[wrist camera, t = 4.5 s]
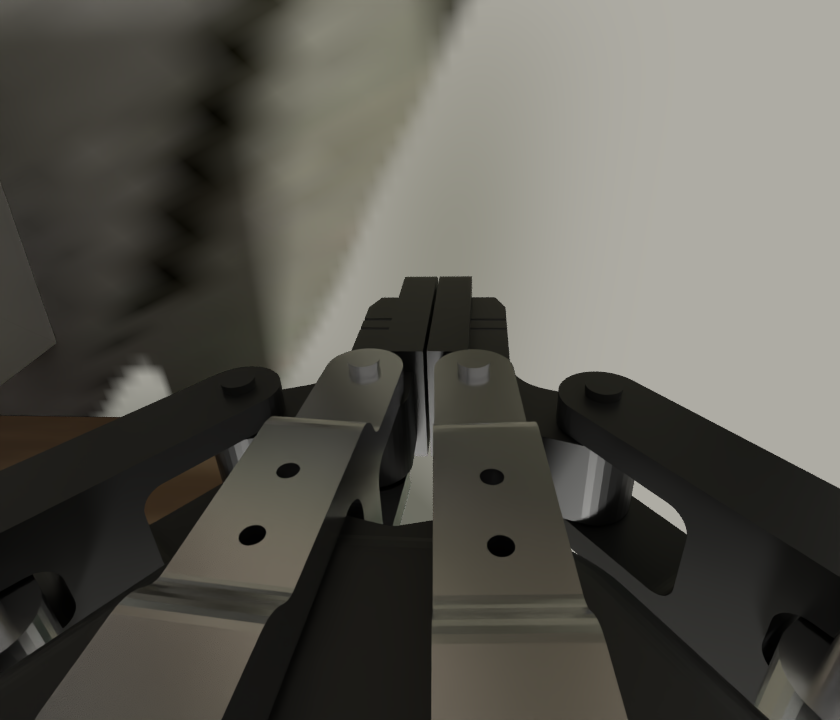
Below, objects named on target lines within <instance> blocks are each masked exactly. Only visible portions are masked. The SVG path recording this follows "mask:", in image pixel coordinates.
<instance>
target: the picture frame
mask: <svg viewBox="0 0 840 720" xmlns="http://www.w3.org/2000/svg"><path fill="white" fill-rule="evenodd" d="M55 344H56V339H55V337H54V334H53V331H52V328H51V325H50V322H49V319H48V317H47V314H46V311H45V308H44V305H43V302H42V299H41V296H40V294H39V291H38V288H37V285H36V282H35V279H34V276H33V274H32V271H31V268H30V265H29V262H28V259H27V256H26V254H25V251H24V248H23V245H22V242H21V239H20V236H19V234H18V231H17V228H16V225H15V222H14V219H13V216H12V214H11V211H10V208H9V205H8V202H7V199H6V196H5V194H4V191H3V188H2V185H1V182H0V386H1V385H2V384H4V383H5V382H6V381H7V380H9V379H10V378H11V377H13V376H14V375H15V374H17V373H18V372H19V371H21V370H22V369H23V368H24V367H26V366H27V365H28V364H30V363H31V362H32V361H34V360H35V359H36V358H38V357H39V356H40V355H42V354H43V353H44V352H45V351H47V350H48V349H49V348H51V347H52V346H53V345H55Z"/></svg>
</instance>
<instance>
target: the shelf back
mask: <svg viewBox="0 0 840 720" xmlns="http://www.w3.org/2000/svg"><path fill="white" fill-rule="evenodd" d="M118 418H120V417H58V416H0V471H1V470H3V469H5V468H8V467H10V466H12V465H14V464H17V463H19V462H21V461H23V460H26V459H28V458H30V457H32V456H35V455H37V454H39V453H41V452H44V451H46V450H48V449H50V448H53V447H55V446H57V445H59V444H62V443H64V442H66V441H68V440H71V439H73V438H75V437H77V436H80V435H82V434H84V433H86V432H89V431H91V430H93V429H95V428H98V427H100V426H102V425H104V424H107V423H109V422H111V421H114V420H116V419H118ZM220 484H222V479H221V476H220V472H219V469H218V465H217V462H216V458H215V456H213V457H211V458H210V459H208V460H206V461H204V462H202V463H200V464H198V465H197V466H195V467H193V468H191V469H189V470H187V471H185V472H184V473H182V474H180V475H178V476H176V477H174V478H172V479H171V480H169V481H167V482H165V483H163V484H161V485H160V486H158V487H157V488H156V489H155V490H154V491H153V492H152V493H151V494H150V495H149V497H148V499H147V501H146V503H145V508H144V512H145V516H146V519H147V521H148V524H149V525H150V524H152V523H154V522H156V521H157V520H159V519H161V518H163V517H164V516H166V515H168V514H170V513H171V512H173V511H175V510H177V509H178V508H180V507H182V506H183V505H185V504H187V503H189V502H190V501H192V500H194V499H196V498H197V497H199V496H201V495H203V494H204V493H206V492H208V491H210V490H211V489H213V488H215V487H216V486H218V485H220ZM33 575H34V574H33Z"/></svg>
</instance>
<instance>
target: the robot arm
mask: <svg viewBox="0 0 840 720" xmlns="http://www.w3.org/2000/svg"><path fill="white" fill-rule="evenodd" d="M429 442H430V443H431V456H433V520H432V521H426V522H419V523H413V524H406V525H401V521H402V517H403V513H404V510H405V506H406V502H407V499H408V495H409V491H410V487H411V478H410V470H411V468H412V465H413V459H414V456H428V449H429ZM213 456H215V458H216V462H217V465H218V469H219V472H220V476H221V479H222V484H220V485H218V486H216V487H215V488H213V489H211V490H210V491H208V492H206V493H204V494H203V495H201V496H199V497H197V498H196V499H194V500H192V501H190V502H189V503H187V504H185V505H183V506H182V507H180V508H178V509H177V510H175V511H173V512H171V513H170V514H168V515H166V516H164V517H163V518H161V519H159V520H157V521H156V522H154V523H152V524H150V525H149V524H148V521H147V519H146V516H145V512H144V508H145V503H146V501H147V499H148V497H149V495H150V494H151V493H152V492H153V491H154V490H155V489H156V488H157V487H158V486H160V485H161V484H163V483H165V482H167V481H169V480H171V479H172V478H174V477H176V476H178V475H180V474H182V473H184V472H185V471H187V470H189V469H191V468H193V467H195V466H197V465H198V464H200V463H202V462H204V461H206V460H208V459H210V458H211V457H213ZM634 480H635V481H637V482H638V483H639V484H641V485H642V486H644V487H645V488H647V489H648V490H650V491H651V492H653V493H654V494H656V495H657V496H659V497H660V498H661V499H663V500H664V501H666V502H667V503H669V504H670V505H671V506H672V507H673V508H675V509H676V511H677V512H678V513H679V514H680V516H681V517H682V519H683V521H684V523H685V526H686V530H687V534H685V533H684V532H683V531H681V530H679V529H678V528H677V527H675V526H674V525H673V524H671V523H670V522H668V521H667V520H666V519H664V518H663V517H661V516H660V515H658V514H657V513H655V512H654V511H653V510H651V509H650V508H649V507H647V506H646V505H644V504H643V503H641V502H640V501H639V500H637V499H636V498H634V497H633V496H632V490H633V485H634ZM571 549H573V550H574V551H575V552H576V553H577V554H576V553H574V552H572V551H571ZM33 574H34V575H33ZM0 720H840V489H839V488H837V487H836V486H834V485H832V484H830V483H828V482H826V481H824V480H822V479H820V478H818V477H816V476H815V475H813V474H811V473H809V472H806V471H805V470H803V469H801V468H799V467H797V466H795V465H794V464H791V463H790V462H788V461H786V460H784V459H782V458H780V457H778V456H776V455H774V454H772V453H770V452H768V451H766V450H765V449H763V448H761V447H759V446H757V445H755V444H753V443H751V442H749V441H747V440H746V439H744V438H742V437H740V436H738V435H736V434H734V433H732V432H730V431H728V430H727V429H725V428H723V427H721V426H719V425H717V424H715V423H713V422H711V421H709V420H707V419H705V418H703V417H701V416H700V415H698V414H696V413H694V412H692V411H690V410H688V409H686V408H684V407H682V406H680V405H679V404H677V403H675V402H673V401H671V400H669V399H667V398H665V397H663V396H661V395H659V394H657V393H656V392H654V391H652V390H650V389H648V388H646V387H644V386H642V385H640V384H638V383H636V382H635V381H633V380H631V379H628V378H626V377H623V376H620V375H616V374H613V373H607V372H583V373H578V374H575V375H572V376H570V377H568V378H566V379H565V380H564V381H562V383H561V384H560V386H559V391H558V392H557V391H552V390H548V389H543V388H539V387H536V386H533V385H530V384H528V383H526V382H524V381H523V380H521V379H519V378H518V377H517V376H516V375H515V371H514V367H513V365H512V363H511V362H510V359H509V347H508V335H507V323H506V310H505V306H503V305H502V304H501V303H500V302H499V301H498V300H497V299H496V298H494V297H490V298H489V297H486V298H483V297H481V298H479V297H476V298H475V297H473V298H472V277H469V276H467V277H466V276H465V277H464V276H463V277H440V278H439V283H438V278H437V277H405V279H404V282H403V286H402V289H401V292H400V295H399V298H381V299H380V300H379V301H377V302H376V303H375V304H373V305H372V306H370V307H369V309H368V312H367V314H366V317H365V321H363V324H362V326H361V330H360V331H359V334H358V336H357V338H356V341H355V343H354V346H353V348H352V351H349V352H346V353H344V354H341V355H339V356H337V357H335V358H334V359H332V360H331V361H330V363H329V364H328V365H327V366H326V368H325V370H324V371H323V373H322V375H321V376H320V378H319V379H318V381H317V383H315V384H311V385H306V386H300V387H295V388H289V389H283V390H282V386H281V381H280V377H279V376H278V374H277V373H275V372H274V371H272V370H270V369H267V368H263V367H241V368H236V369H231V370H228V371H225V372H222V373H220V374H217V375H215V376H213V377H210V378H208V379H206V380H204V381H201V382H199V383H197V384H195V385H192V386H190V387H188V388H186V389H183V390H181V391H179V392H177V393H174V394H172V395H170V396H168V397H165V398H163V399H161V400H159V401H157V402H154V403H152V404H150V405H148V406H145V407H143V408H141V409H138V410H136V411H134V412H132V413H130V414H127V415H125V416H123V417H120V418H118V419H116V420H114V421H111V422H109V423H107V424H104V425H102V426H100V427H98V428H95V429H93V430H91V431H89V432H86V433H84V434H82V435H80V436H77V437H75V438H73V439H71V440H68V441H66V442H64V443H62V444H59V445H57V446H55V447H53V448H50V449H48V450H46V451H44V452H41V453H39V454H37V455H35V456H32V457H30V458H28V459H26V460H23V461H21V462H19V463H17V464H14V465H12V466H10V467H8V468H5V469H3V470H1V471H0Z"/></svg>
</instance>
